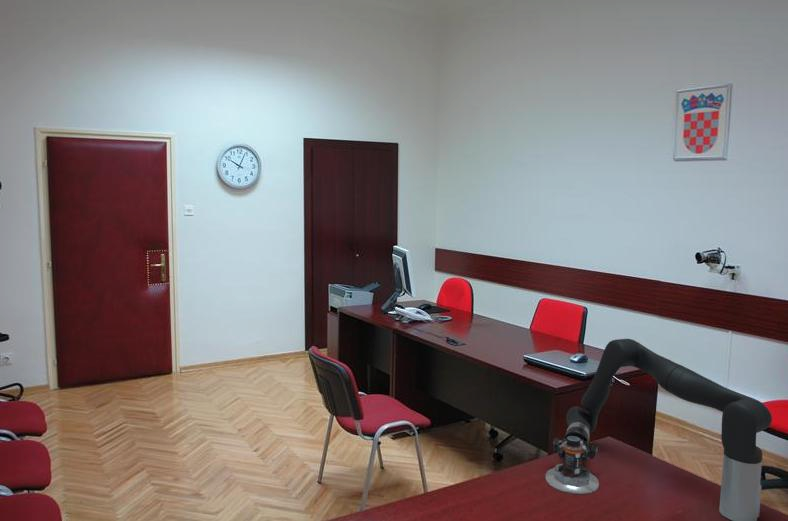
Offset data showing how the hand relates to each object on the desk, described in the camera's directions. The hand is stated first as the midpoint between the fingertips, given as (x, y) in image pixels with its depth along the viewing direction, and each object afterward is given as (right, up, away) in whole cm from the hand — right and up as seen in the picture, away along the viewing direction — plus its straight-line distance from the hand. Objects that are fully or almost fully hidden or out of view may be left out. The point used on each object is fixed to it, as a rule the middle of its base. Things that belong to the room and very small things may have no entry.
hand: (572, 457), depth 179 cm
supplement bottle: (+1, -6, +3) cm, 7 cm away
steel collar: (+1, -9, +3) cm, 9 cm away
